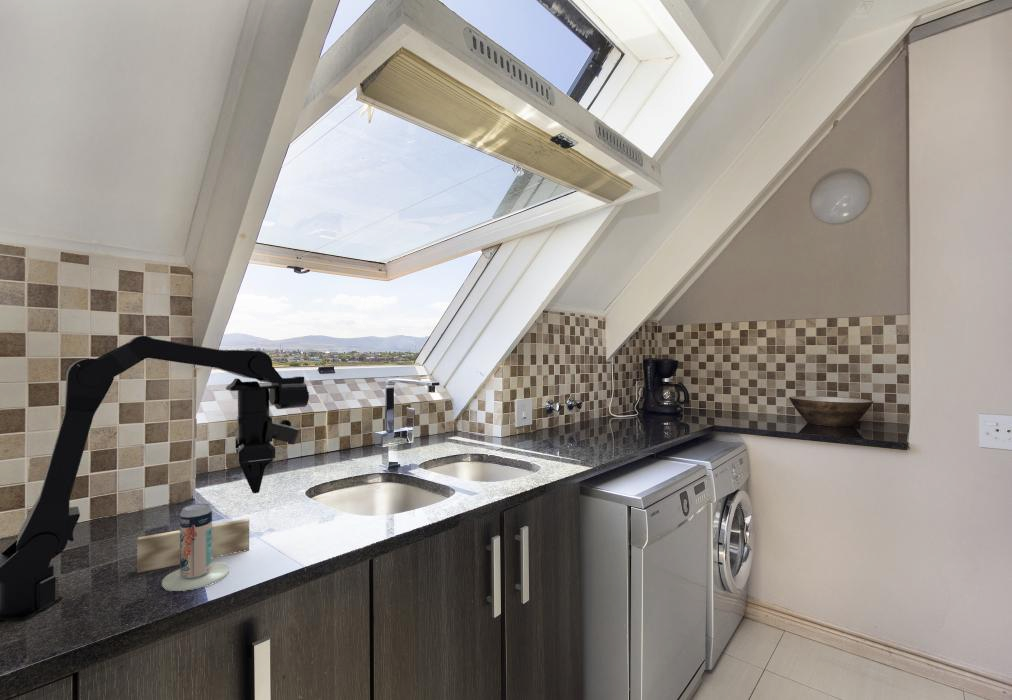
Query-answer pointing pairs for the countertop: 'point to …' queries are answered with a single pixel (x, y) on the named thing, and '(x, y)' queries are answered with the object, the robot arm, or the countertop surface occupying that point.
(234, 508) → the countertop surface
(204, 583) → the sage pad
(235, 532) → the birch screen
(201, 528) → the beer can
